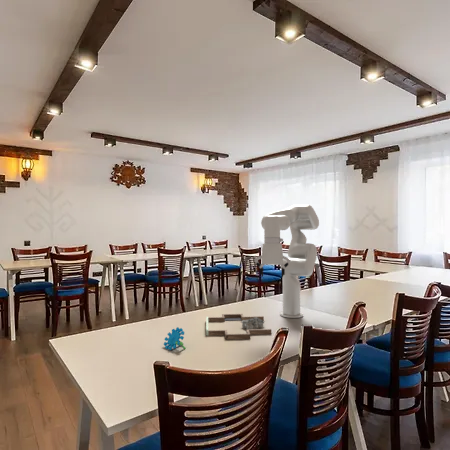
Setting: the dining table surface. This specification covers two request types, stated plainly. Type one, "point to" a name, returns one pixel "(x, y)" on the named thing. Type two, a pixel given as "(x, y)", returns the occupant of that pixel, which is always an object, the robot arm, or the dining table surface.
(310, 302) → the dining table surface
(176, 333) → the blue flower
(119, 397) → the dining table surface
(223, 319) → the trap box
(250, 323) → the grey rock
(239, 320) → the trap pits
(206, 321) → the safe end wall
